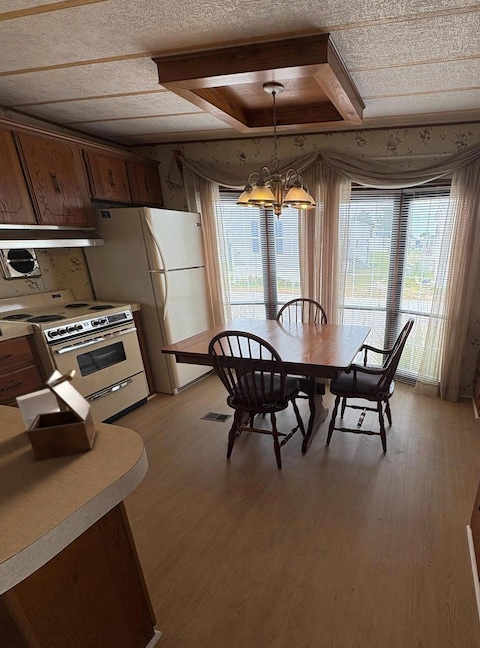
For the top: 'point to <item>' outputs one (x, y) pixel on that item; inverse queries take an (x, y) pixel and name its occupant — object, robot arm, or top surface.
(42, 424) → the compartment
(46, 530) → the top surface
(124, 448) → the top surface
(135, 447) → the top surface
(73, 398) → the compartment lid
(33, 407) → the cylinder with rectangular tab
